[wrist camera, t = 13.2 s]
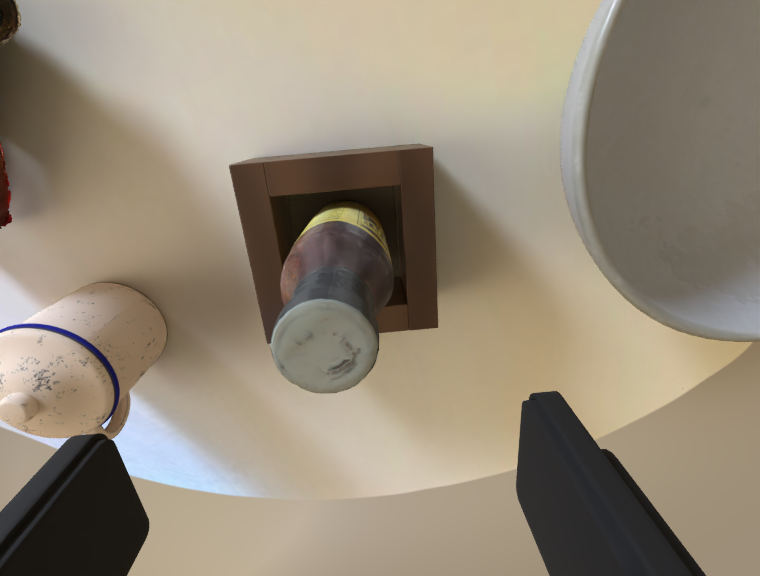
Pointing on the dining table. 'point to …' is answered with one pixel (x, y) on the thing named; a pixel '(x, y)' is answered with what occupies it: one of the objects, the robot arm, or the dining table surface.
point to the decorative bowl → (670, 159)
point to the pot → (3, 23)
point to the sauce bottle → (333, 299)
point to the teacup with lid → (78, 362)
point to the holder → (335, 173)
